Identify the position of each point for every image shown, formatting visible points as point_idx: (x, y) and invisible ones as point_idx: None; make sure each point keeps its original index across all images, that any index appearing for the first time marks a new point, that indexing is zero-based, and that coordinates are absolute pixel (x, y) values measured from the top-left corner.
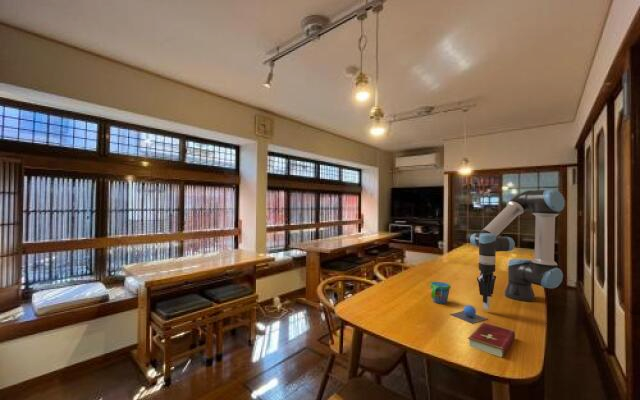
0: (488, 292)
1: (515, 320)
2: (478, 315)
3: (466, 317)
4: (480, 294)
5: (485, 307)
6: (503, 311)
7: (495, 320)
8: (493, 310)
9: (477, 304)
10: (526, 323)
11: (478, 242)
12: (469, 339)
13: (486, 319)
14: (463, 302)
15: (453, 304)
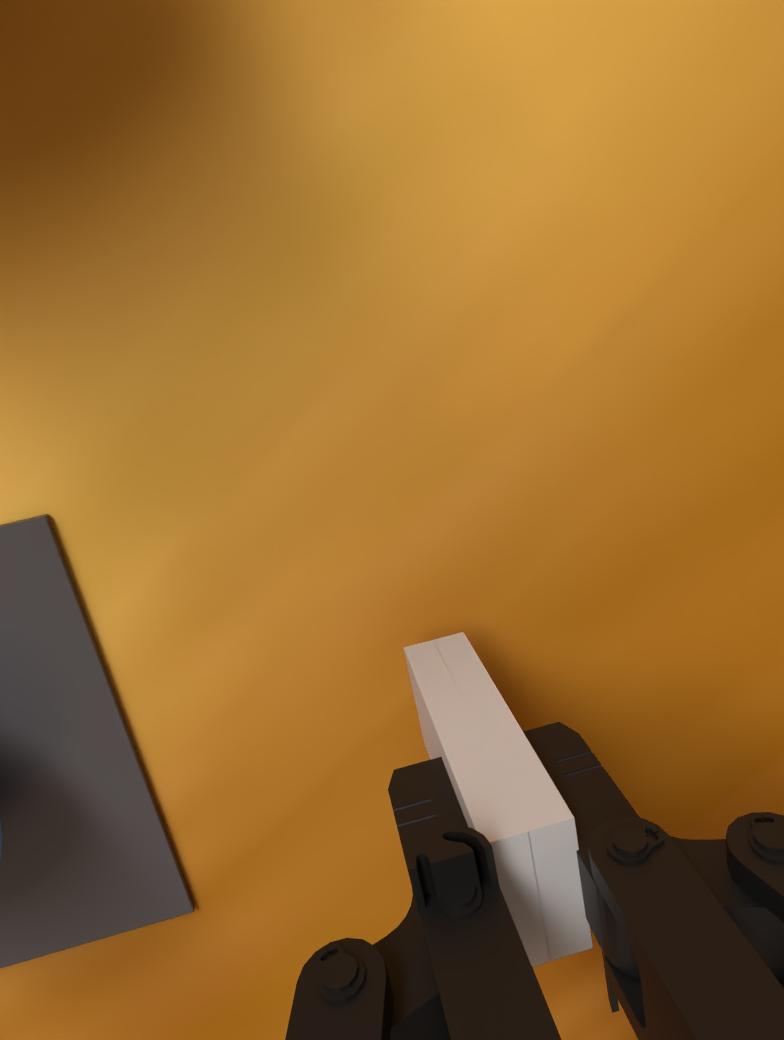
0: (649, 1032)
1: (586, 957)
2: (130, 779)
3: None
4: (305, 991)
5: (421, 713)
6: (757, 661)
7: (286, 943)
8: (639, 597)
9: (630, 240)
10: (629, 1036)
11: None
12: None
13: (150, 922)
14: (409, 4)
15: (4, 55)
